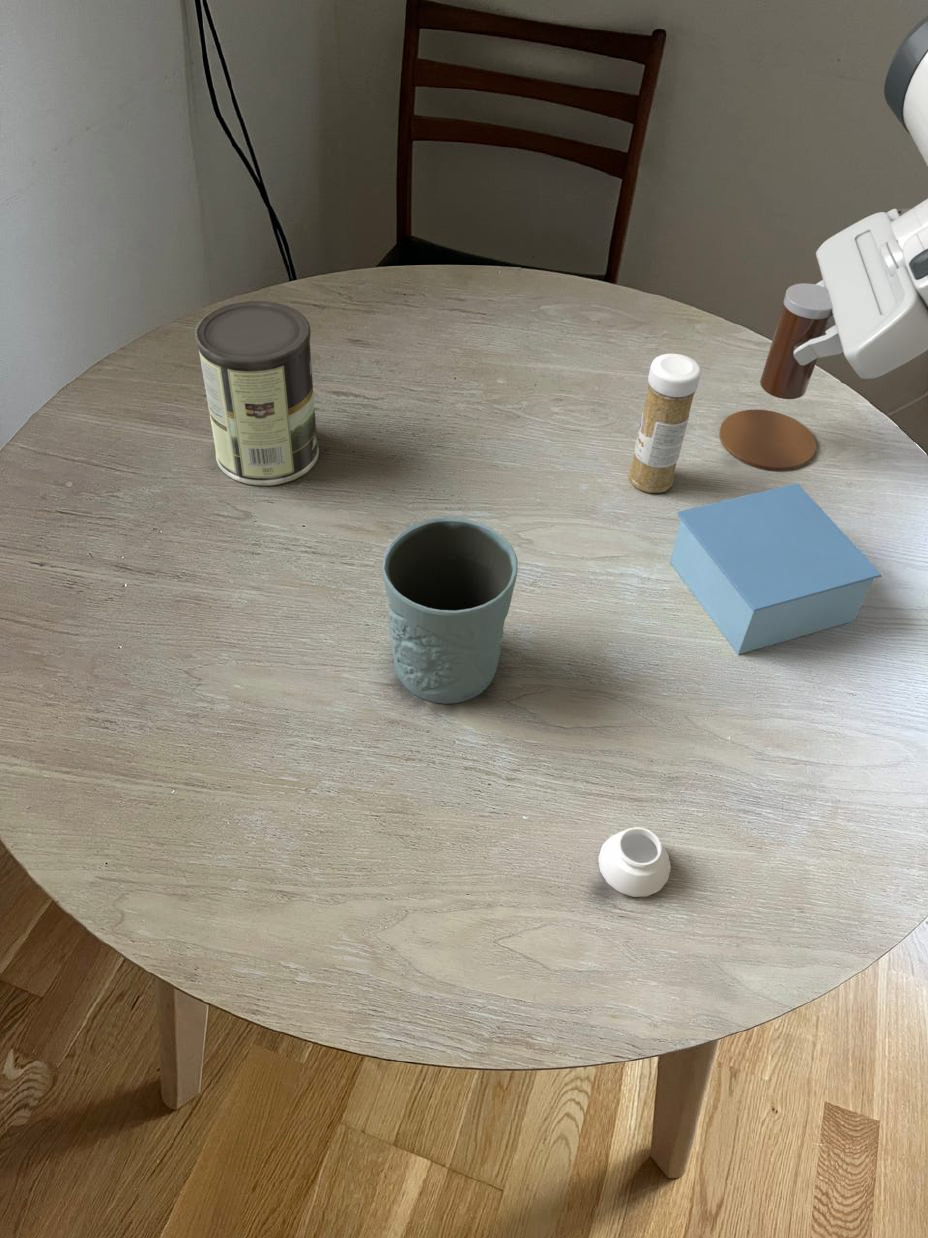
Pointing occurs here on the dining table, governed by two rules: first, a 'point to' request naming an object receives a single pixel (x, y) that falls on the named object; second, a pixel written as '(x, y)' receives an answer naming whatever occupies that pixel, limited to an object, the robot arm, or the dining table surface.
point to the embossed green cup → (448, 606)
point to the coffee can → (259, 391)
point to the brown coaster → (767, 440)
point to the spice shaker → (795, 339)
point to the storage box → (770, 567)
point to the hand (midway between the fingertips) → (792, 339)
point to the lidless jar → (634, 862)
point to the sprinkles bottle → (663, 421)
